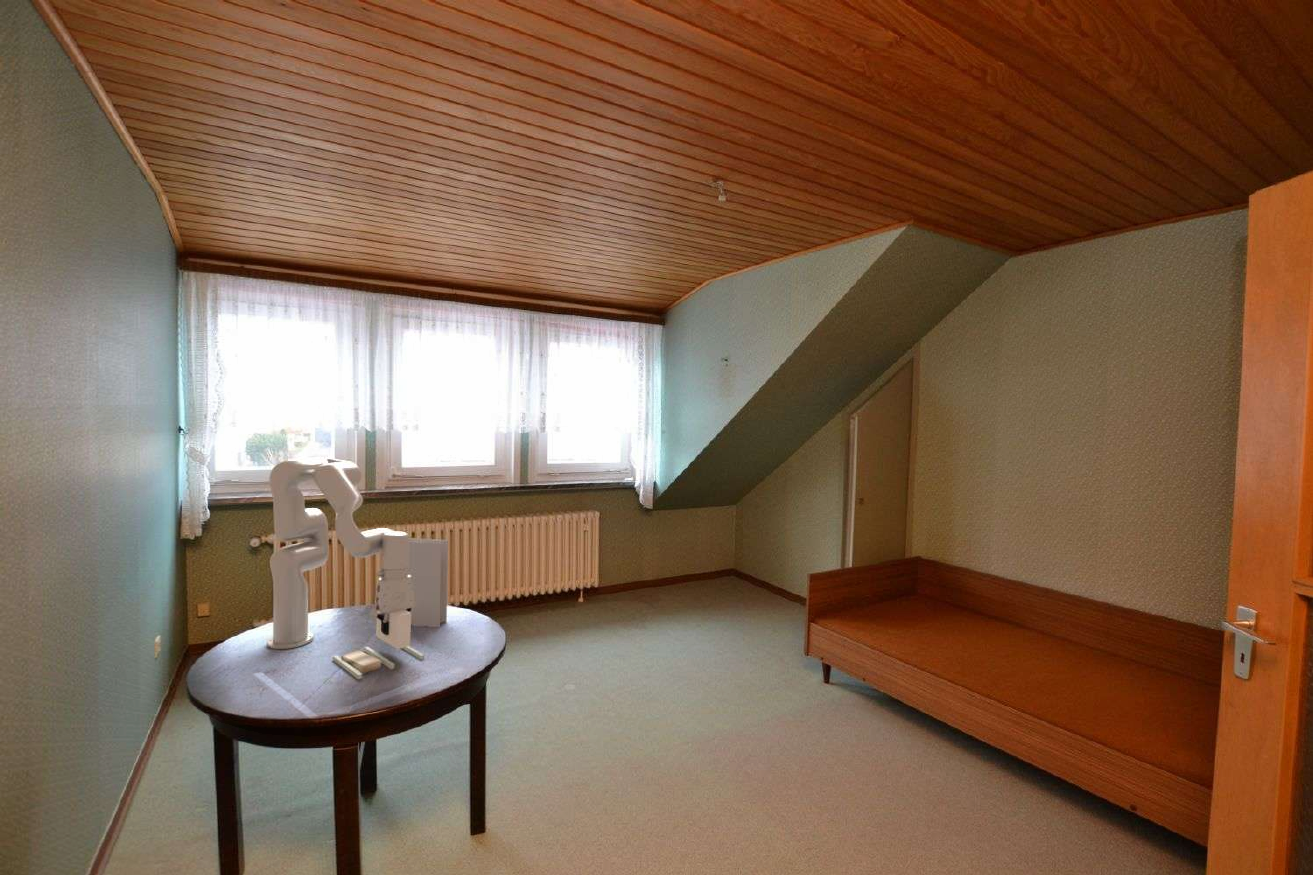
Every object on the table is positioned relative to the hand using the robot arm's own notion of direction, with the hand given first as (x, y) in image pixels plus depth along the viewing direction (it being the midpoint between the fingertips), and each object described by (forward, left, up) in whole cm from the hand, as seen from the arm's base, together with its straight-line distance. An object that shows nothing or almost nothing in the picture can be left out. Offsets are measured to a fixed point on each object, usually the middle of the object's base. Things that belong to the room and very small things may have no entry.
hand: (393, 631), depth 174 cm
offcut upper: (+1, -9, -7) cm, 12 cm away
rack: (0, -4, -9) cm, 10 cm away
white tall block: (-22, +21, -9) cm, 32 cm away
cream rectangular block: (0, 0, -3) cm, 3 cm away
